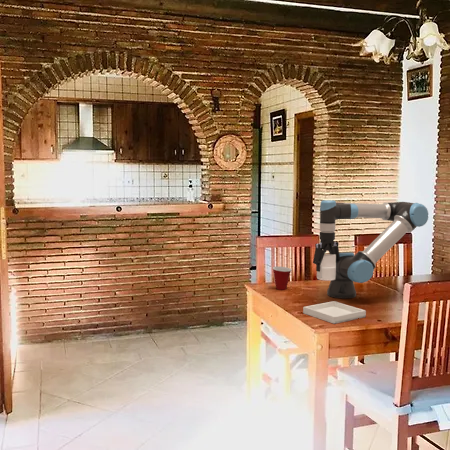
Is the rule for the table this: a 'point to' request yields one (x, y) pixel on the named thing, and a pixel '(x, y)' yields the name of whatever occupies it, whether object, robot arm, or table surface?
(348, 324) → the table surface
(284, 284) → the plastic cup
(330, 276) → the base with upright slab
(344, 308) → the tray
